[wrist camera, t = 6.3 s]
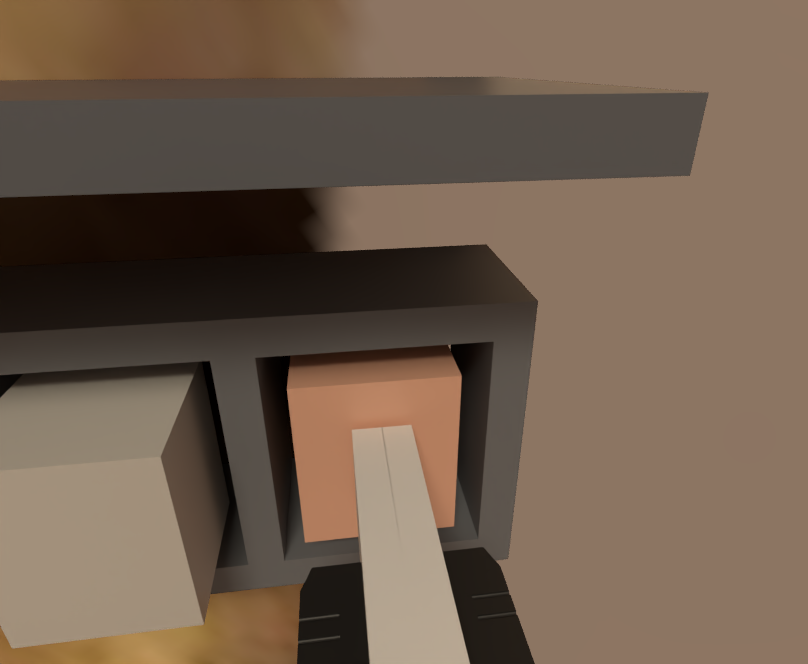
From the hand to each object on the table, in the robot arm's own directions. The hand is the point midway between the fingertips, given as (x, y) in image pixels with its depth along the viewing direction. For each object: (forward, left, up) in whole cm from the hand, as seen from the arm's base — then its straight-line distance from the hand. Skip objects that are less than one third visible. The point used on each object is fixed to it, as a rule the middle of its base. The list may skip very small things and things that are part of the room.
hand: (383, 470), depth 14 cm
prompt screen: (-10, +9, -5) cm, 14 cm away
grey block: (-7, 0, -2) cm, 7 cm away
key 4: (0, 0, -4) cm, 4 cm away
